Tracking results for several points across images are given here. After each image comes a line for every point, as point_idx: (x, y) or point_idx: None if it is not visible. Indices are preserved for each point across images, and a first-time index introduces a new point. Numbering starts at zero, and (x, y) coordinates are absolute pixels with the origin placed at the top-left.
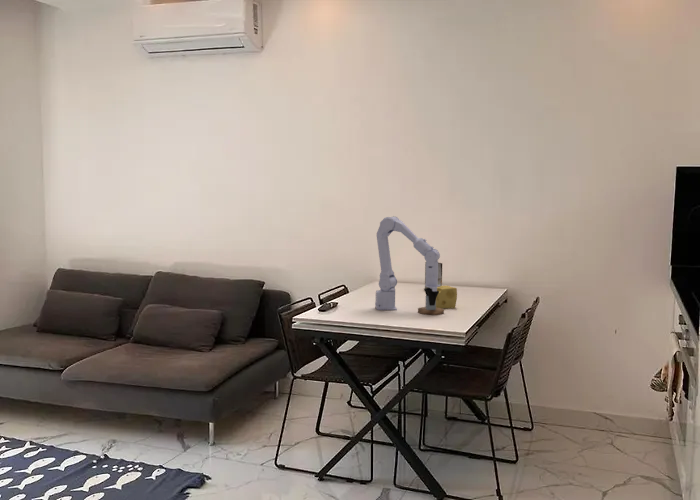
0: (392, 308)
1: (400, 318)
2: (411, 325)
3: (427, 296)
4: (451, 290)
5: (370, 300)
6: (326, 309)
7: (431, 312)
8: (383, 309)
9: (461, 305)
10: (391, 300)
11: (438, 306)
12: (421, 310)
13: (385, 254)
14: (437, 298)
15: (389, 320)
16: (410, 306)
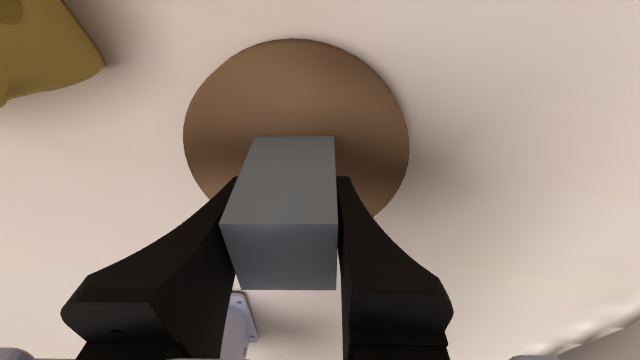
0: (236, 308)
1: (455, 301)
2: (635, 289)
3: (286, 283)
4: None
5: (27, 333)
6: None
7: (401, 175)
8: (254, 327)
9: None
10: (229, 356)
11: (86, 56)
12: None
13: None
14: (2, 100)
15: (482, 329)
16: (95, 228)
